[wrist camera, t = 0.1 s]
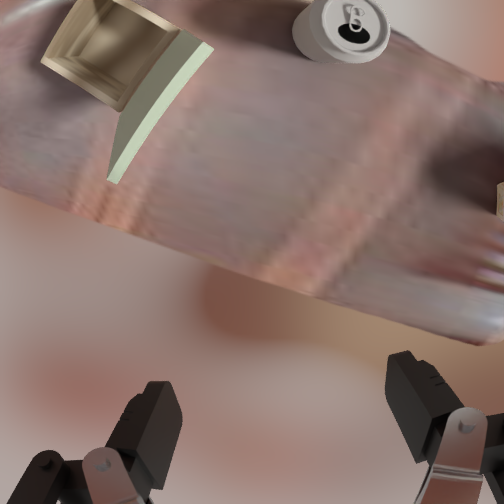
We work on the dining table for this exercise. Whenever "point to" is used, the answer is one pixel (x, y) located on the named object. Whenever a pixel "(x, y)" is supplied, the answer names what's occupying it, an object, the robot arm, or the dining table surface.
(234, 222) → the dining table surface
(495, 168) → the dining table surface
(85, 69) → the box
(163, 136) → the dining table surface
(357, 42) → the can
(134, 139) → the lid
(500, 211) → the coffeecake box
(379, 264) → the dining table surface
